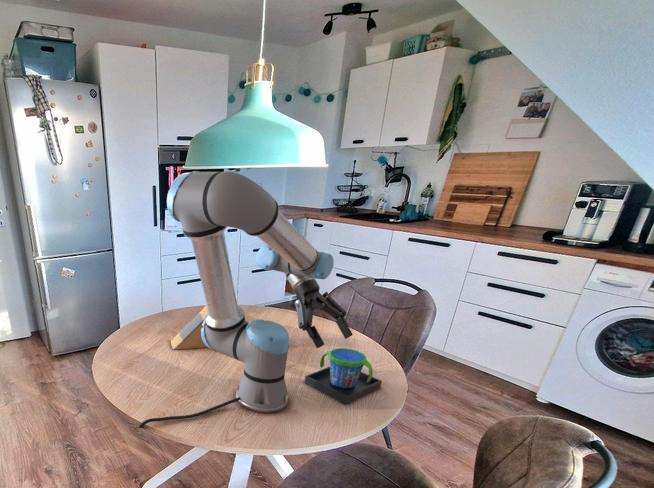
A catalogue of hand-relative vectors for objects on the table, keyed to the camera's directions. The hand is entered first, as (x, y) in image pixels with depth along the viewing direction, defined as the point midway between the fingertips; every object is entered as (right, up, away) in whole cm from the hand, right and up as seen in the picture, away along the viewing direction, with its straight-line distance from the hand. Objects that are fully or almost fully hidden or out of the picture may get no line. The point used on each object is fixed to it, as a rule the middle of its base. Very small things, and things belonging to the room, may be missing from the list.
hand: (335, 341), depth 121 cm
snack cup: (+3, -14, +2) cm, 14 cm away
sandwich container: (-44, -1, +32) cm, 55 cm away
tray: (+3, -14, +2) cm, 14 cm away
